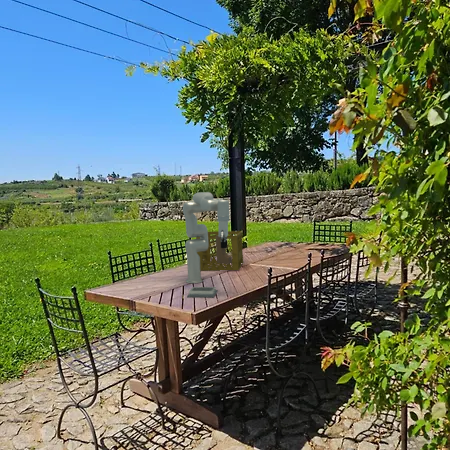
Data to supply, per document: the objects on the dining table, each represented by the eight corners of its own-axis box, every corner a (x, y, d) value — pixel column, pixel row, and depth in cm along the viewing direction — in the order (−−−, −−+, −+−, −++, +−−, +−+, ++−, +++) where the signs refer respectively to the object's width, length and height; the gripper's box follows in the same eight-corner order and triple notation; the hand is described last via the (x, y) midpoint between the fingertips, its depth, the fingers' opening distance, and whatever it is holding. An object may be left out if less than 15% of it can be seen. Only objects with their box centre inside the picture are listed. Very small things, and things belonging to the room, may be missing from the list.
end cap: (192, 291, 265) (192, 286, 265) (217, 291, 262) (217, 286, 262) (187, 297, 249) (186, 292, 249) (213, 297, 247) (213, 292, 246)
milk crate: (205, 263, 368) (204, 231, 366) (243, 263, 362) (242, 231, 360) (196, 271, 333) (195, 236, 331) (238, 271, 327) (237, 235, 325)
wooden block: (232, 262, 253) (231, 235, 250) (228, 264, 249) (227, 236, 247) (220, 261, 257) (219, 234, 255) (216, 263, 253) (215, 235, 251)
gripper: (219, 218, 260) (220, 245, 261) (215, 220, 243) (216, 249, 244) (231, 218, 258) (231, 245, 260) (227, 220, 242) (228, 249, 243)
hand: (224, 247), depth 252 cm, fingers closed on wooden block, 5 cm apart
